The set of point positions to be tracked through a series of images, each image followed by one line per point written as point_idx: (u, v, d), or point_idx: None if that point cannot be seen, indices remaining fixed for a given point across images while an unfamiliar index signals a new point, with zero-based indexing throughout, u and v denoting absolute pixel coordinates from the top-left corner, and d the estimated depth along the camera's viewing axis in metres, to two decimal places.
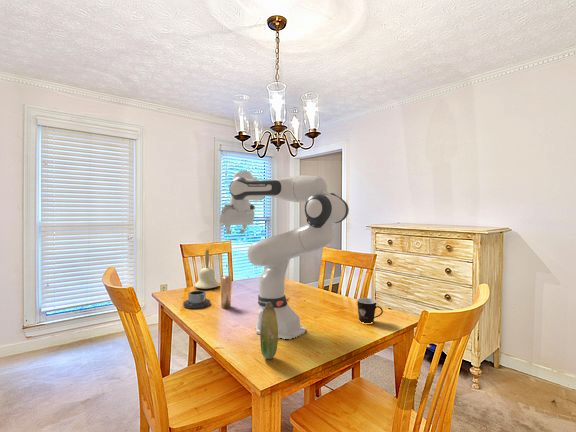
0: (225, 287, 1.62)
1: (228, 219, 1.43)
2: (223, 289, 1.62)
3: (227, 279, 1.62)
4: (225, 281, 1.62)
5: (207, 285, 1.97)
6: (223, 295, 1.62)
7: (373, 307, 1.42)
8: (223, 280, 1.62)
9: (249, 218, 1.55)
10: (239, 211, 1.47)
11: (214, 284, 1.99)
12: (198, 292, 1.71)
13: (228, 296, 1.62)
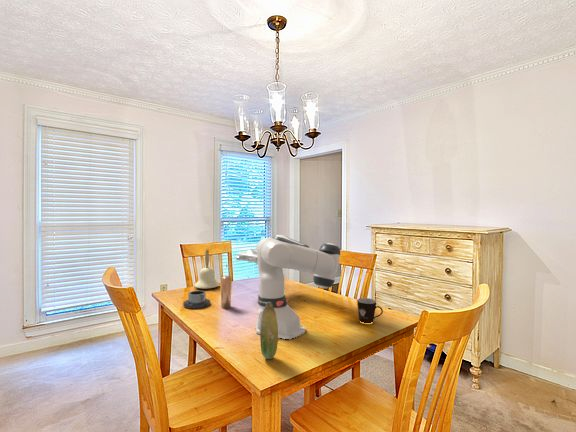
0: (225, 287, 1.62)
1: None
2: (223, 289, 1.62)
3: (227, 279, 1.62)
4: (225, 281, 1.62)
5: (207, 285, 1.97)
6: (223, 295, 1.62)
7: (373, 307, 1.42)
8: (223, 280, 1.62)
9: None
10: None
11: (214, 284, 1.99)
12: (198, 292, 1.71)
13: (228, 296, 1.62)
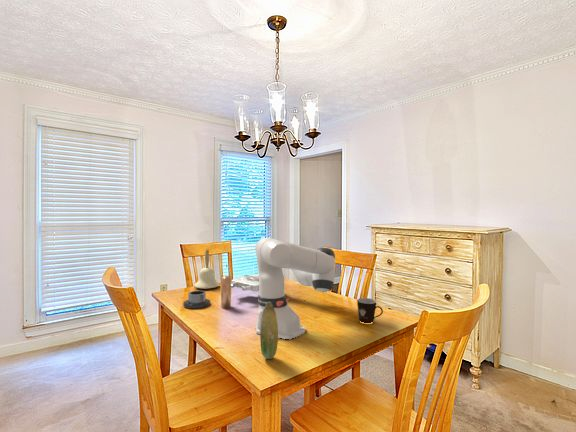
0: (225, 287, 1.62)
1: None
2: (223, 289, 1.62)
3: (227, 279, 1.62)
4: (225, 281, 1.62)
5: (207, 285, 1.97)
6: (223, 295, 1.62)
7: (373, 307, 1.42)
8: (223, 280, 1.62)
9: None
10: None
11: (214, 284, 1.99)
12: (198, 292, 1.71)
13: (228, 296, 1.62)
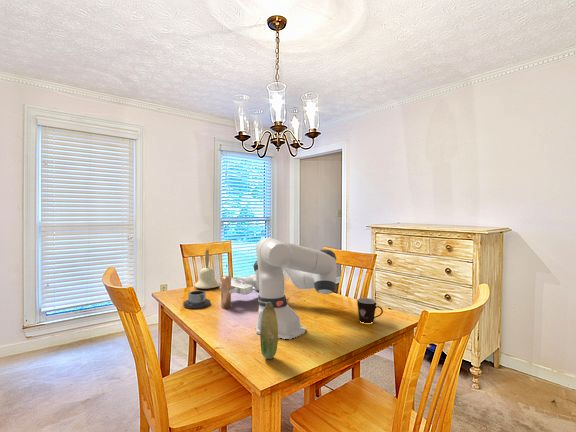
0: (225, 287, 1.62)
1: None
2: (223, 289, 1.62)
3: (227, 279, 1.62)
4: (225, 281, 1.62)
5: (207, 285, 1.97)
6: (223, 295, 1.62)
7: (373, 307, 1.42)
8: (223, 280, 1.62)
9: None
10: None
11: (214, 284, 1.99)
12: (198, 292, 1.71)
13: (228, 296, 1.62)
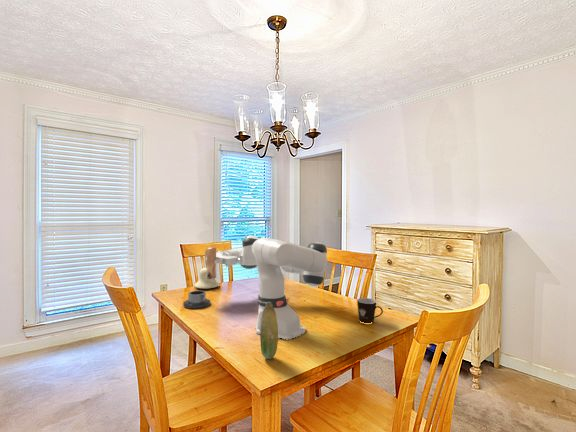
0: (210, 257, 1.65)
1: None
2: (208, 259, 1.65)
3: (212, 250, 1.65)
4: (210, 251, 1.65)
5: (207, 285, 1.97)
6: (208, 265, 1.65)
7: (373, 307, 1.42)
8: (208, 251, 1.65)
9: None
10: None
11: (214, 284, 1.99)
12: (198, 292, 1.71)
13: (213, 266, 1.66)
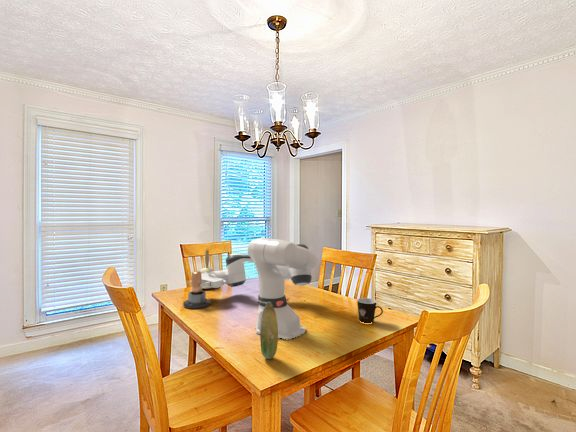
0: (195, 282, 1.65)
1: None
2: (193, 284, 1.65)
3: (197, 274, 1.65)
4: (195, 276, 1.65)
5: None
6: (193, 290, 1.65)
7: (373, 307, 1.42)
8: (193, 275, 1.65)
9: None
10: None
11: None
12: None
13: (198, 291, 1.66)
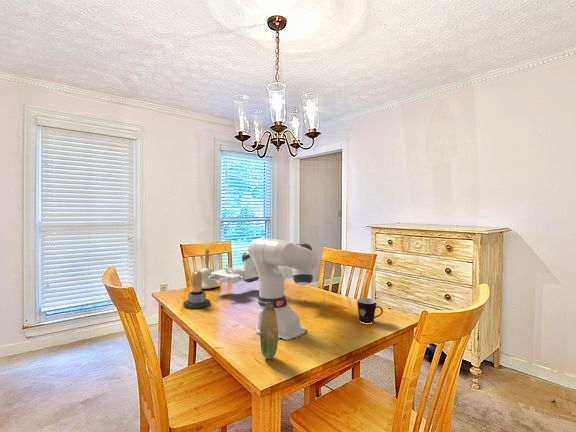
0: (195, 282, 1.65)
1: None
2: (194, 284, 1.65)
3: (198, 274, 1.65)
4: (196, 276, 1.65)
5: (207, 285, 1.97)
6: (194, 290, 1.65)
7: (373, 307, 1.42)
8: (194, 275, 1.65)
9: None
10: None
11: (214, 284, 1.99)
12: None
13: (199, 291, 1.66)
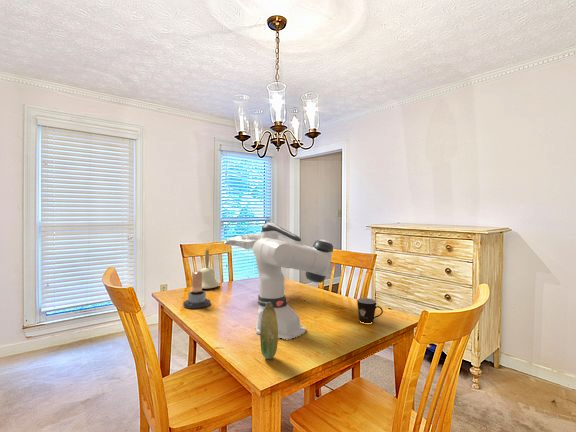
0: (195, 282, 1.65)
1: None
2: (194, 284, 1.65)
3: (198, 274, 1.65)
4: (196, 276, 1.65)
5: (207, 285, 1.97)
6: (194, 290, 1.65)
7: (373, 307, 1.42)
8: (194, 275, 1.65)
9: None
10: (247, 246, 1.82)
11: (214, 284, 1.99)
12: None
13: (199, 291, 1.66)
